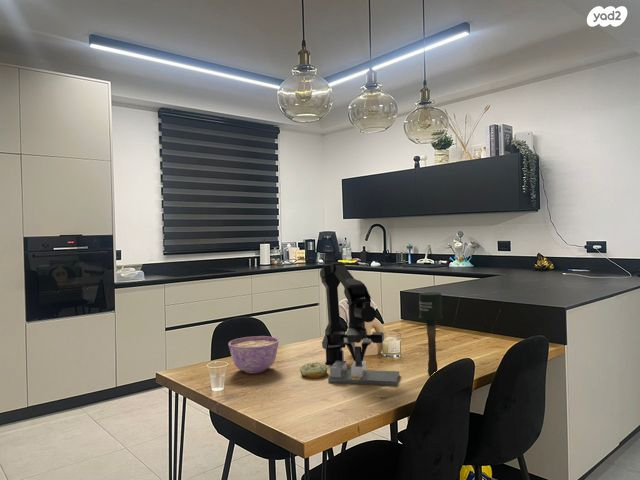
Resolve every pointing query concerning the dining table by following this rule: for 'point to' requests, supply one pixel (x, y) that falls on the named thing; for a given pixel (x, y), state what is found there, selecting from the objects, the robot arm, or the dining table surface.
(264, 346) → the bowl of food
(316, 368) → the decorated donut
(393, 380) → the base
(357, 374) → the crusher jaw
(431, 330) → the stick grenade
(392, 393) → the dining table surface
